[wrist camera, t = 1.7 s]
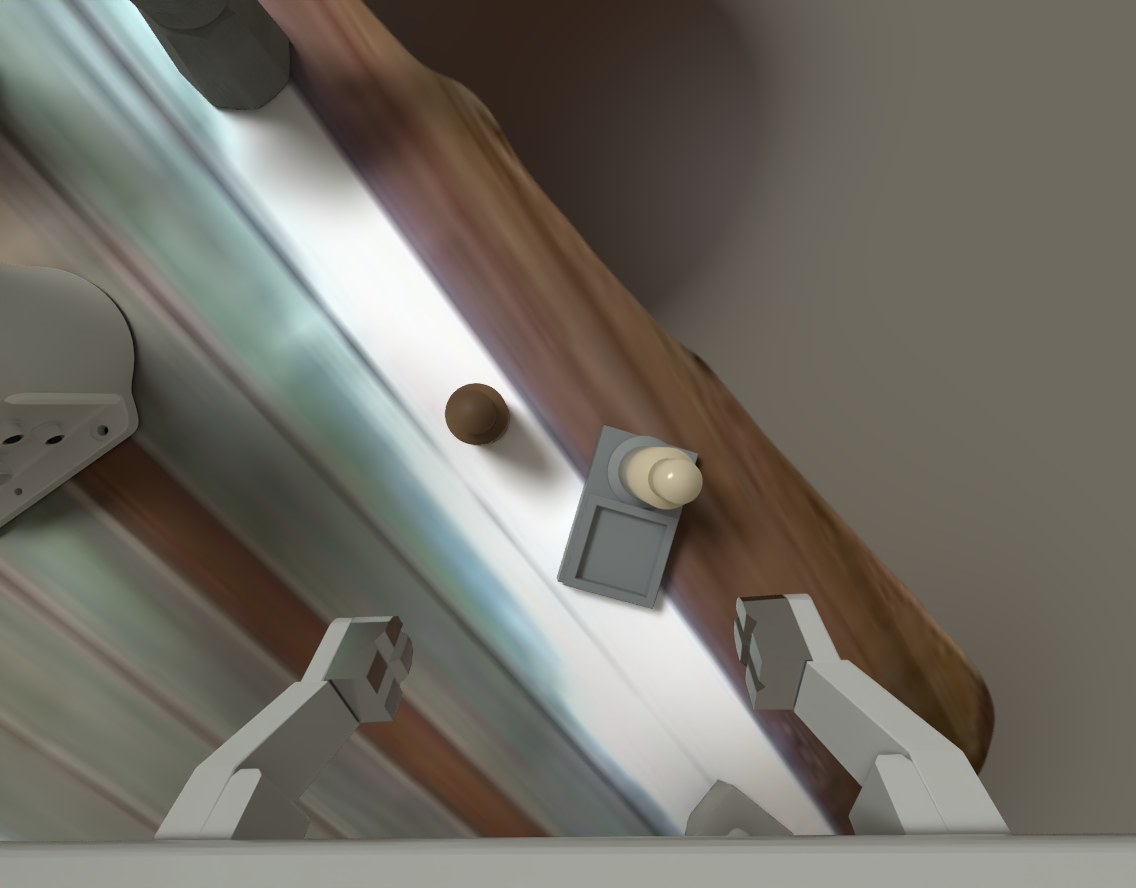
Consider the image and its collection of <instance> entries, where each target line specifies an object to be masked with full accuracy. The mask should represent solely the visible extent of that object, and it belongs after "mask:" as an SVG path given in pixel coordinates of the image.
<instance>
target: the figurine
mask: <svg viewBox="0 0 1136 888" xmlns="http://www.w3.org/2000/svg"><path fill="white" fill-rule="evenodd" d="M792 835H793V833H792V832H791V831H789V830H788V829H787V828H786V827H784V826H783V825H782V824H781V823H779V822H778V821H777V820H776V819H774V818H773V817H772V816H771V815H769V814H768V813H767V812H766V811H764V810H763V809H762V808H761V807H759V806H758V805H757V804H756V803H754V802H753V801H752V800H751V799H749V798H748V797H747V796H746V795H744V794H743V793H742V792H741V791H739V790H738V789H737V788H736V787H734V786H733V785H730V784H728V783H726V782H723V781H721V780H717V781H716V783H715V784H714V785H713V786H712V788H711V789H710V790H709V792H708V793H707V794H706V795H705V797H704V798H703V799H702V801H701V802H700V803H699V804H698V806H697V807H696V808H695V810H694V811H693V812H692V813H691V815H690V816H689V819H688V824H687V828H686V832H685V836H792Z"/></svg>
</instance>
